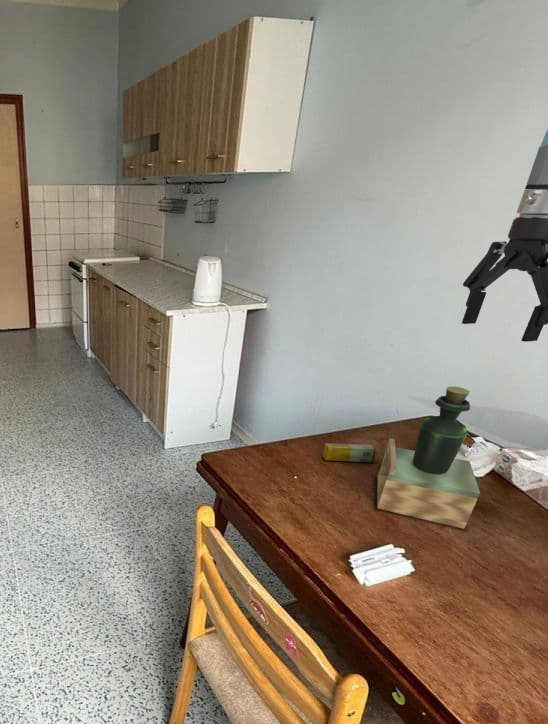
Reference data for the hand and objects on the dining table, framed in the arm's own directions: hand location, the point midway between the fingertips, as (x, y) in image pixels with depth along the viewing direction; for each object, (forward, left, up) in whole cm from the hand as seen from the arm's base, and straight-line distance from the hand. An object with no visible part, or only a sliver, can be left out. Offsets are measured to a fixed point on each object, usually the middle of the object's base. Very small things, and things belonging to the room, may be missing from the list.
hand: (496, 331), depth 96 cm
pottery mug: (-3, -18, -37) cm, 41 cm away
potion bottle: (+5, +11, -28) cm, 30 cm away
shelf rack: (+5, +11, -37) cm, 39 cm away
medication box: (+20, -2, -37) cm, 42 cm away
